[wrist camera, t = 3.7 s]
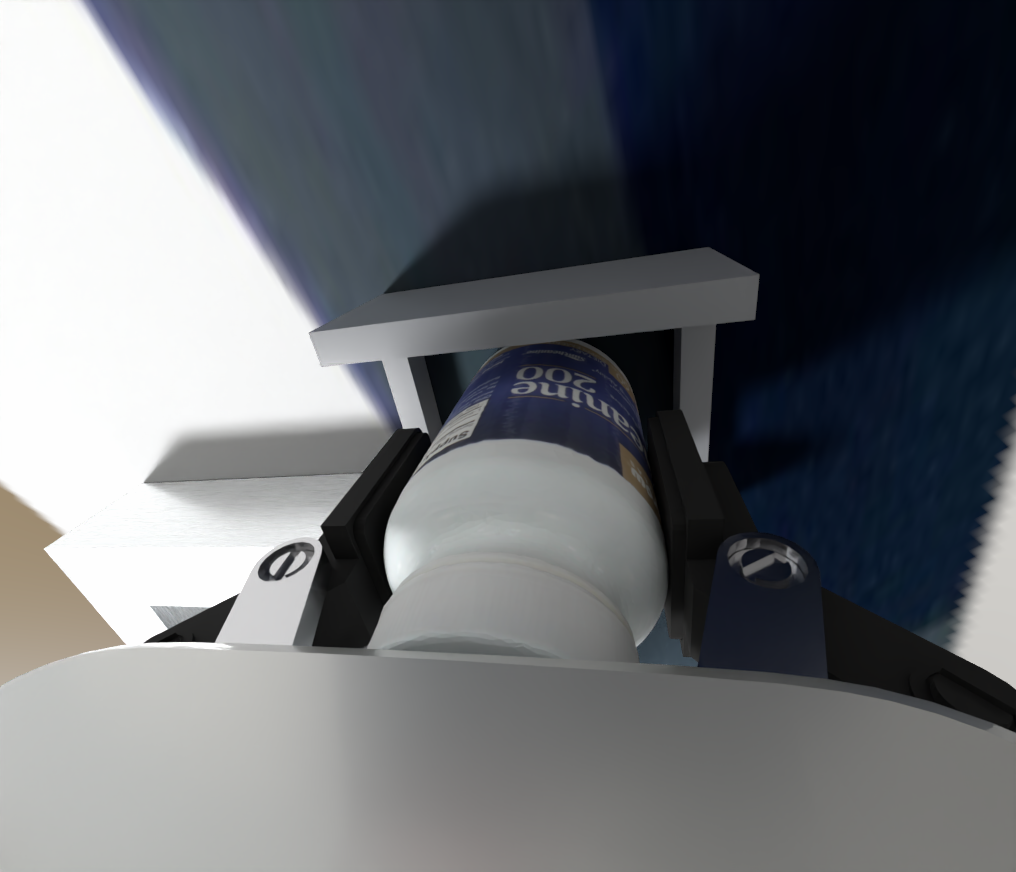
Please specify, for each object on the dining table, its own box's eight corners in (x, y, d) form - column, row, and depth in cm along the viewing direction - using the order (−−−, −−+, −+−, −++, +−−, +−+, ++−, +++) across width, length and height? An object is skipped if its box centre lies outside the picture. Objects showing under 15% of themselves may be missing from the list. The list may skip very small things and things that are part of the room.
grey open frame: (382, 294, 13) (308, 332, 10) (708, 246, 11) (759, 274, 8) (446, 519, 17) (410, 602, 14) (695, 514, 15) (725, 609, 12)
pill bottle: (674, 403, 13) (811, 764, 5) (562, 506, 16) (529, 856, 8) (534, 291, 12) (421, 508, 4) (438, 419, 15) (248, 712, 7)
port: (142, 483, 19) (25, 561, 15) (396, 471, 16) (334, 562, 13) (259, 659, 25) (196, 749, 21) (463, 671, 22) (434, 777, 18)
